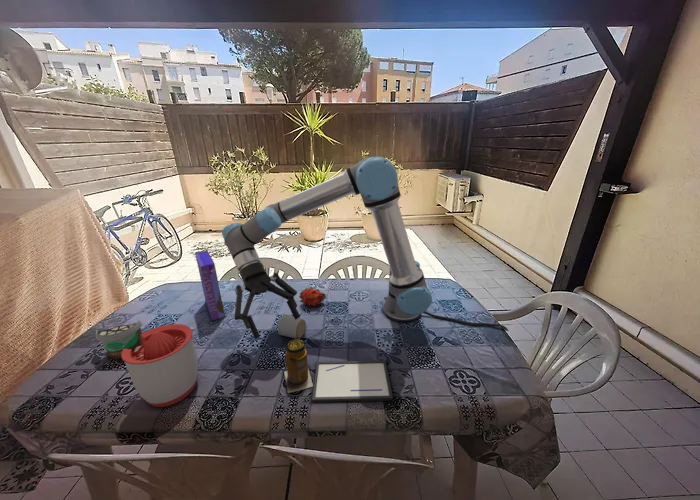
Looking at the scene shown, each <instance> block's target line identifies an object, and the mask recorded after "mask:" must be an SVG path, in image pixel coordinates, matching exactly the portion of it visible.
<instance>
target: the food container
mask: <svg viewBox="0 0 700 500" xmlns="http://www.w3.org/2000/svg"><path fill="white" fill-rule="evenodd" d="M142 327H143V323H142V321H141V320H140V319H137V322H134V323H130V324H122V325H117V326H115V327H112V328H108V329H105V330H100V331H98V329H95V339H96V341H98V342H101V344H102V345H103V348H104V349H105V351H106V354H108V356H109V358H111V359H113V360H121V359H122V357H121V354H122V351H123V349H131V350H132V352H134V351H135V349H136V347H139V346H142V345H143V343H142V339H141V335H140V334H142V333H143V332H142ZM122 360H123V359H122Z"/></svg>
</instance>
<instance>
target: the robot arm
mask: <svg viewBox="0 0 700 500" xmlns="http://www.w3.org/2000/svg"><path fill="white" fill-rule="evenodd" d="M398 177H399V176H398V171H397V168H396V167H395V165H394V164H393V163H392V162H391V161H390V160H389V159H387V158H385V157H384V156H376V155H371V156H367V157H365V158H363V159H362V160H360V161H359V162H357V163H355V164H354V165H352V166H350V167H348V168H345V169H344V172H343V173H341V174H339V175H336V176H335V177H332V178H330V179H328V180H325V181H323V182H321V183H318V184H316V185H314V186H311V187H310V188H307V189H305V190H303V191H300V192H298V193H296V194H294V195H292V196H289V197H287V198H284V199H282V200H280V201H277V202H276V203H275V202H274V203H271V204H269V205H267V206H266V207H264V208H263V209H262V210H260V211H258V212H257V213H256V214H255V215H253V216H252V217H250V218H249V219H248V220H247V221H245V222H244V223H242V222H232V223H230V224H227V225H225V226H224V227H223V229H222V230H221V235H222V238H223V241H224V244H225V245H226V247H227V249H228V251H229V254H230V255H231V257H232V258H231V259H232V261H233V262H234V265H235V267H236V269H237V271H238V273H239V276H240V278H241V280H242V282H243V285H240V284H238V285H236V286H235V289H234V292H235V295H236V298H235V306H234V307H235V308H234V317H233V318H234V320H235V321H238V320H241V321H243V324H244V326H245V329H247V330H249V329H250V332H251V333H252V336H253V338H254V340H256V339H258V338H259V337H260V336H261V335H260V333H259V331H258V328H257V326H256V323H255V322H254V320H253V316H252V315H251V314H250V315H249V311H250V309H251V306H252V304H253V300H254V297H255V296H260V295H261V294H265V293H267V292H270V293H273V294H275V295H277V296H279V297H281V298H283V299H285V300H287V301H286V304H287V307H288V308H289V310H290V312H291V314H292V316H294V318H295V320H296V319H298V318H301V315H300V314H299V311H298V309H297V307H298V303H297V302H296V300H295V296H296V295H297V294H298V291H297V290H296V289H295V288H294V287H293V286H291V285H290V284H289V283H287V282H286V281H285V280H284V279H282V277H280V275H279V274H278V272H274V273H273V275H268V273H267V271H266V269H265V266H264V264H263V263H262V260H261V257H260V256H259V254H258V252H257V250H256V248H255V245H257V244H258V243H259V242H261V241H262V240H264V239H265V238H267V237H268V236H270V235H271V234H273V233H275V232H276V231H277V230H278V229H279V228H281V226H282V224H284V223H286V222H289V221H291V220H293V219H296V218H298V217H300V216H303V215H305V214H308V213H309V212H312V211H314V210H317V209H320V208H322V207H324V206H326V205H329V204H331V203H333V202H336V201H338V200H342V199H343V198H346V197H348V196H350V195H354V196H357V195H360V196H361V199H362V202H363V205H364V208H366V209H367V210H369V211H371V214H372V218H373V220H374V224H375V226H376V230H377V232H378V236H379V239H380V241H381V245H382V247H383V250H384V253H385V256H386V259H387V262H388V265H389V275H388V276H389V277H388V293H387V296H384V298H383V301H384V303H383V308H382V309H383V314H384V315H385V316H386V317H387V318H389V319H391V320H392V321H395V322H400V323H409V322H414V321H416V320H417V319H419V318H420V315H421V314H425V315H427V316H430V317H433V318H435V319H441V320H444V321H445V320H447V321H451V322H456V323H460V324H464V325H469V326H488V327H496V328H501V327H502V329H503V330H504V331H506V332H509V328H507V327H506V326H505V325H504V324H500V323H490V322H473V321H472V322H471V321H465V320H461V319H457V318H454V317H447V316H442V315H436V314H433V313H431V312H429V311H427V310H428V309H429V308H430V307H431V306H432V303H433V296H432V292H431V291H430V289H429V288H428V284H427V281H426V278H425V275H424V271H423V270H422V268H421V264H420V262H419V261H417V260H415V257H414V254H413V250H412V246H411V243H410V239H409V236H408V233H407V229H406V226H405V222H404V219H403V215H402V213H401V208H400V205H399V200H400V199H401V197H402V194H401V191H400V187H399V184H398V181H399V178H398ZM271 281H272V282H274V283H275V284H274V283H272V282H271ZM276 285H277V286H276ZM245 291H247V292H248V293H249V295H248V297H247V300H246V303H245V306H244V308H243V312H242V302H243V301H242V300H243V293H244V292H245ZM499 326H501V327H499Z"/></svg>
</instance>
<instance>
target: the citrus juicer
mask: <svg viewBox="0 0 700 500" xmlns="http://www.w3.org/2000/svg"><path fill="white" fill-rule="evenodd" d="M140 335H141V339H142V343H143V345H142V346H139V347H136V349H135V351H134V352H132V350H131V349H123V351H122V354H121V357H122V361H123V362H124V364H125V366H126V369H127V372H128V374H129V377H130V380H131V382H132V384H133V387H134V388H135V391H136V392H137V394H138V395H139V396H140V397H141V398H142V399H143V401H145V402H146V404H149V405H150V406H152V407H155V408H165V407H170V406H173V405H175V404H177V403H179V402H180V401H182V400H184V399H185V398H186V397H188V396H189V395H190V394H191V393H192V392H193V390H194V389H195V387H196V385H197V381H198V378H199V377H198V376H199V358H198V354H197V351H196V345H195V341H194V338H193V329H192V328H191V327H190V326H188V325H185V324H182V323H173V324H171V323H170V324H165V325H160V326H156V327H154V328H151V329H149V330H146V331H144V332H142V334H140Z"/></svg>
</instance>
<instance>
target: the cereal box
mask: <svg viewBox="0 0 700 500" xmlns="http://www.w3.org/2000/svg"><path fill="white" fill-rule="evenodd" d="M194 255H195V259H196V265H197V269H198V273H199V278H200V282H201V283H200V284H201V286H202V291H203V295H204V300H205V304H206V307H207V310H208V313H209V316H210V319H211V321H213V322H214V321H216V320H220V319H223V318H226V315H225V310H224V306H223V305H224V304H223V300H222V295H221V290H220V289H221V288H220V283H219V280H218V274H217V269H216V263H215V261H214V260H213V258H212V255H210V253H209V251H208V250H202V251H198V252H195V253H194Z"/></svg>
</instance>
